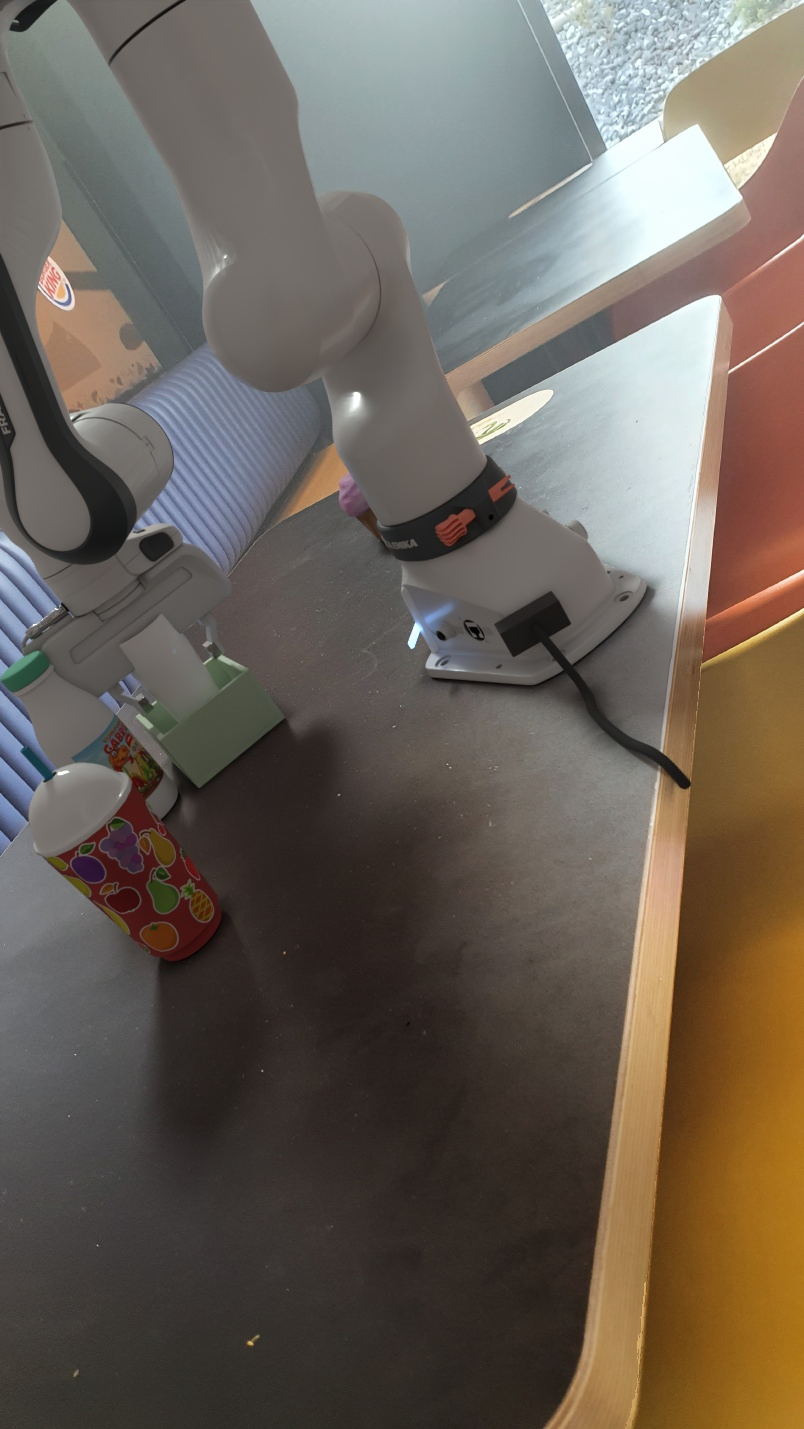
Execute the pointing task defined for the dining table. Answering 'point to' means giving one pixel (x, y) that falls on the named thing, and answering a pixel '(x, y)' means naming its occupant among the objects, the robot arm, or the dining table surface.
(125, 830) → the smoothie
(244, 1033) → the dining table surface
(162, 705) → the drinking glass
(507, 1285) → the dining table surface
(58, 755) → the milk bottle
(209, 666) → the tub
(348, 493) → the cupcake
